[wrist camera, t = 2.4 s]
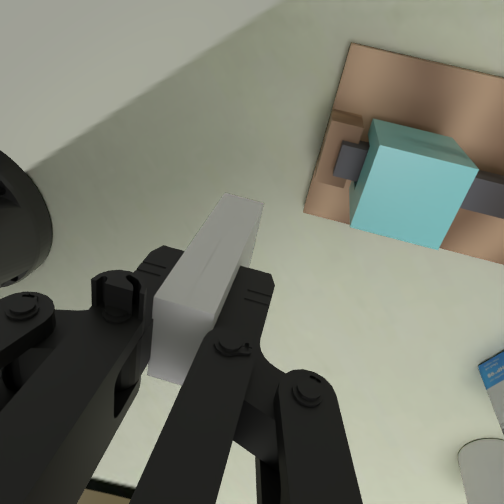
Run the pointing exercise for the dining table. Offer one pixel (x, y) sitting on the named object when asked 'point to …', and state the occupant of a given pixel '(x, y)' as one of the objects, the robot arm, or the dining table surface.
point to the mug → (483, 471)
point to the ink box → (495, 384)
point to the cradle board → (423, 118)
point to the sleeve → (410, 184)
